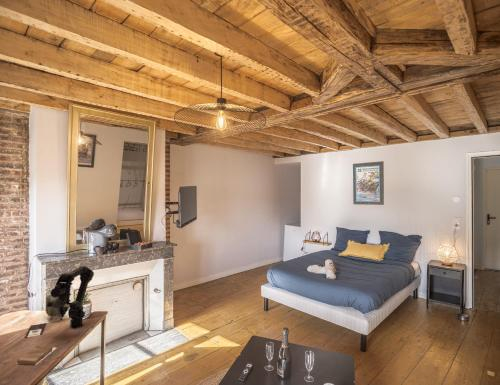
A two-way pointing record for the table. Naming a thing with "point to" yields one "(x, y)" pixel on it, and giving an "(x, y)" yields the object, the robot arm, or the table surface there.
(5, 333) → the table surface
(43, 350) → the walnut tile
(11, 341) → the table surface
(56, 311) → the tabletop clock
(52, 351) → the white mat
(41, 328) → the chocolate bar
